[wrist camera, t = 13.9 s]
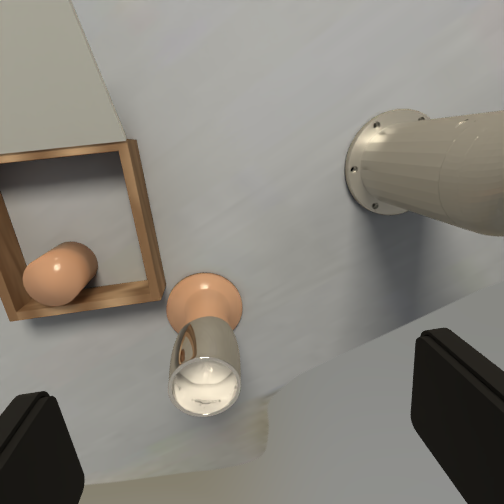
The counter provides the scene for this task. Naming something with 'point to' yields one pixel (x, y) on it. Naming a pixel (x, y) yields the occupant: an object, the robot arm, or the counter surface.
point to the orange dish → (197, 283)
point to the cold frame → (25, 307)
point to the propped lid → (50, 81)
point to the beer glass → (205, 357)
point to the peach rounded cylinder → (60, 274)
